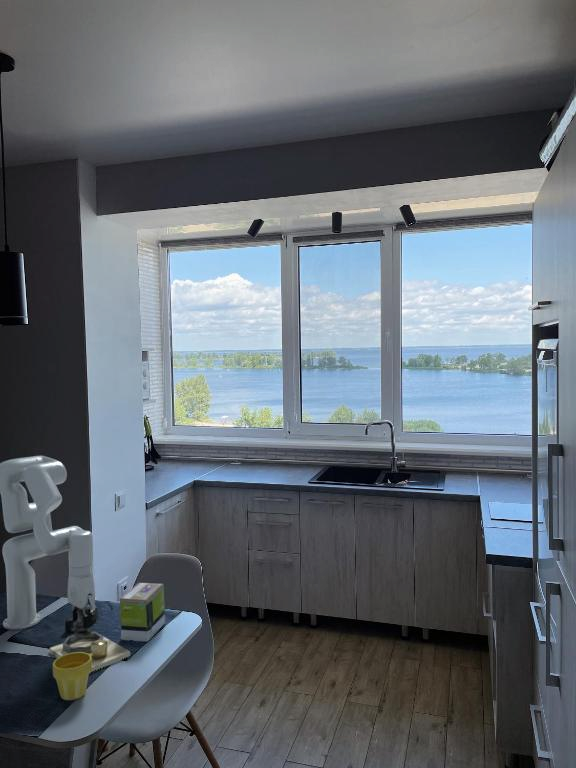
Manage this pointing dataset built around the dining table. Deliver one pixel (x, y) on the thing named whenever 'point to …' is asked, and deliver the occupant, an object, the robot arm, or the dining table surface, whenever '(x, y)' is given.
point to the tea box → (142, 611)
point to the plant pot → (72, 674)
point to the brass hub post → (99, 649)
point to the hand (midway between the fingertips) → (82, 623)
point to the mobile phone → (69, 622)
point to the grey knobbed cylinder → (81, 624)
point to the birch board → (113, 651)
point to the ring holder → (75, 638)
